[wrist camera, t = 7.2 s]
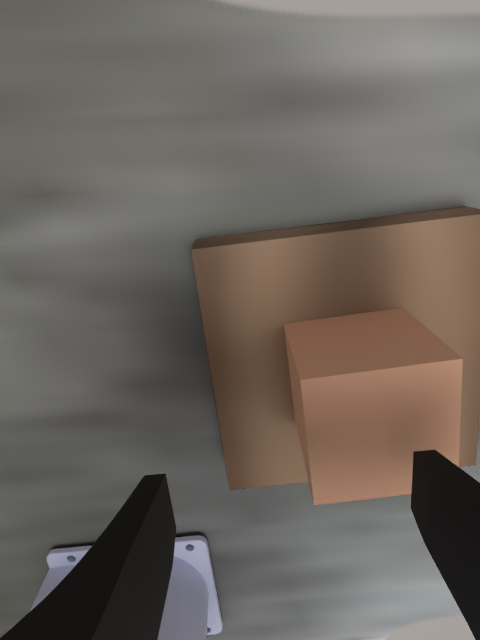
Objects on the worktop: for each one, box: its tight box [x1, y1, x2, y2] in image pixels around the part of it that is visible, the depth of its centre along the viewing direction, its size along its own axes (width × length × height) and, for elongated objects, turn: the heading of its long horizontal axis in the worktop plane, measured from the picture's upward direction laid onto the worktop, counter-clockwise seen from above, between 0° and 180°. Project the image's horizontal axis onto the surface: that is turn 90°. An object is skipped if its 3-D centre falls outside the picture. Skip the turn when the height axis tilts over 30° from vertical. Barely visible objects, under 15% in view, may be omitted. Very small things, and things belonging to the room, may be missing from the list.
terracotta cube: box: [284, 308, 463, 505], centre depth 16 cm, size 5×5×5 cm
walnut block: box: [191, 207, 480, 490], centre depth 20 cm, size 12×12×3 cm
